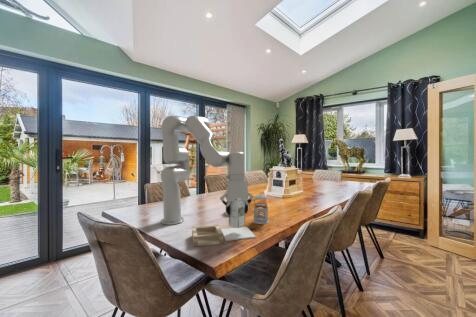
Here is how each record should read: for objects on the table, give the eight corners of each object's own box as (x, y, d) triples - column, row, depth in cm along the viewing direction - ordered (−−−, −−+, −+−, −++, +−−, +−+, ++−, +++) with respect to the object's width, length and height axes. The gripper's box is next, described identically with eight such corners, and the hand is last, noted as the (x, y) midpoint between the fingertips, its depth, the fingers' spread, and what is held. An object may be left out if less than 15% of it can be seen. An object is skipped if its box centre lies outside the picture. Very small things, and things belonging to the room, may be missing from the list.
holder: (192, 235, 112) (191, 227, 112) (218, 233, 115) (218, 225, 115) (193, 246, 100) (193, 237, 99) (223, 243, 103) (223, 234, 103)
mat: (220, 230, 119) (220, 229, 119) (247, 227, 123) (247, 226, 123) (226, 240, 106) (226, 239, 106) (255, 237, 109) (255, 236, 109)
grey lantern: (269, 224, 128) (268, 178, 127) (248, 223, 130) (247, 178, 129) (270, 219, 137) (270, 176, 136) (250, 218, 140) (250, 176, 139)
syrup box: (236, 223, 118) (235, 194, 117) (245, 225, 114) (245, 195, 114) (228, 226, 113) (228, 196, 113) (238, 228, 110) (237, 197, 109)
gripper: (220, 179, 107) (220, 217, 108) (256, 177, 111) (256, 214, 112) (217, 177, 114) (218, 212, 115) (251, 175, 119) (251, 210, 119)
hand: (237, 213), depth 114 cm, fingers closed on syrup box, 8 cm apart
